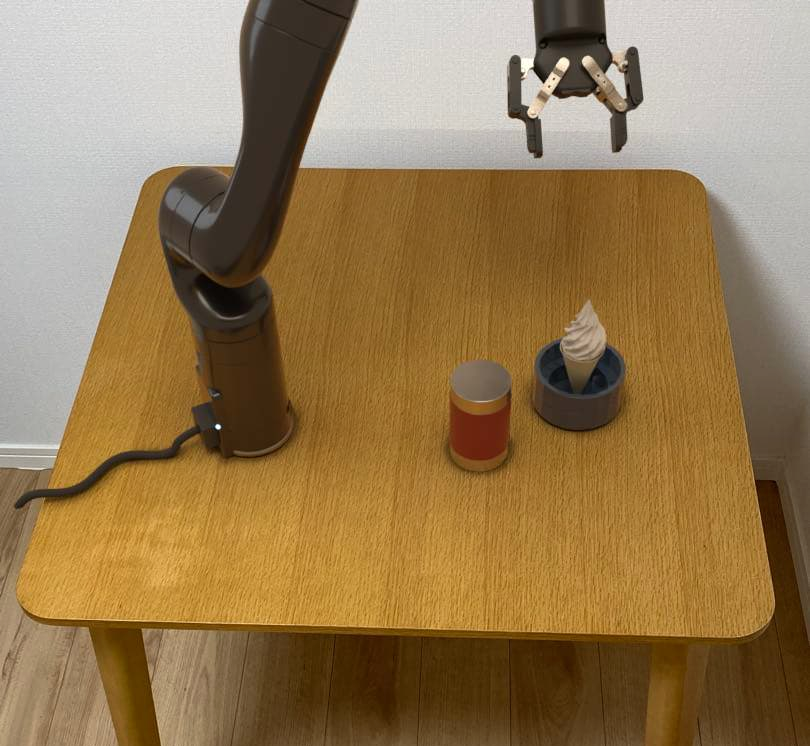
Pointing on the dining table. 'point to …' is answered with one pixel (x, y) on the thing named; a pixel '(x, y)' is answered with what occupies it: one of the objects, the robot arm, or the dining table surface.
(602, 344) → the ice cream cone
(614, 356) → the bowl
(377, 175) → the dining table surface
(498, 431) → the tin can
